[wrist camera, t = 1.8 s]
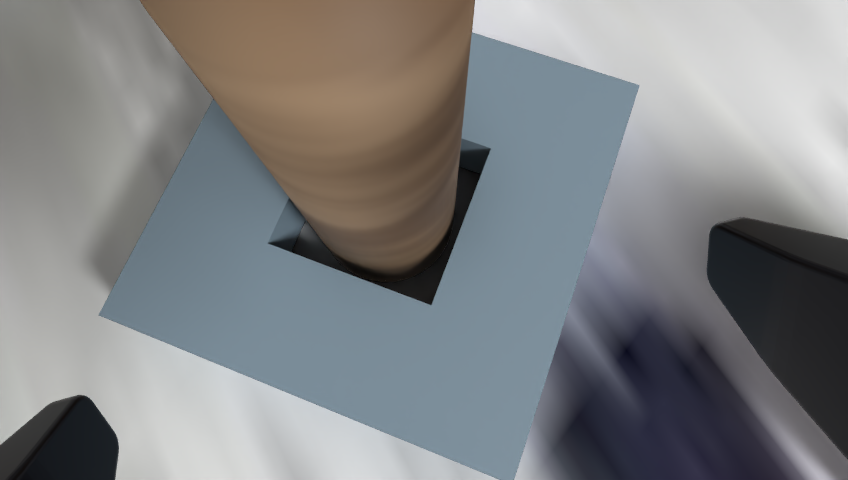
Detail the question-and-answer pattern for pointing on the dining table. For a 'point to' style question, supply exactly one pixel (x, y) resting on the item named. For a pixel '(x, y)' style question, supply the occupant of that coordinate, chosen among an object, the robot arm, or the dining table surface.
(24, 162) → the dining table surface
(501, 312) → the slate holder block
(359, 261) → the walnut peg
